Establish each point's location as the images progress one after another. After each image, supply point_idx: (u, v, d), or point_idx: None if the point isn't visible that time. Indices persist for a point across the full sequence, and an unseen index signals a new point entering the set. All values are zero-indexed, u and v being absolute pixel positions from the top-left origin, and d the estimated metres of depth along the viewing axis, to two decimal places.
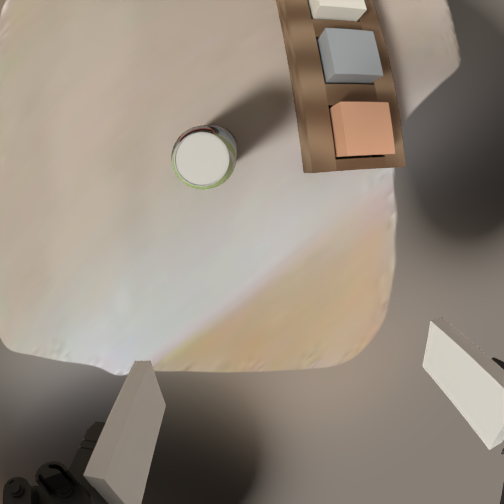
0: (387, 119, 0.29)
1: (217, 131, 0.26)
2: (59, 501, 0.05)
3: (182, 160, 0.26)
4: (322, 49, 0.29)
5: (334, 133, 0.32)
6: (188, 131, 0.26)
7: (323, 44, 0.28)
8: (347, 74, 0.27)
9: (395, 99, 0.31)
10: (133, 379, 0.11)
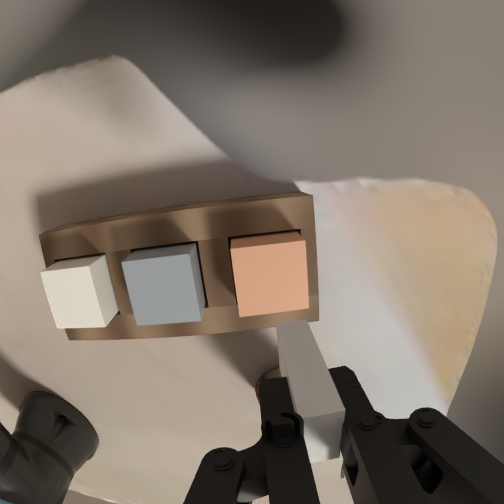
0: (256, 251, 0.24)
1: None
2: (274, 450, 0.07)
3: None
4: None
5: None
6: None
7: None
8: (198, 304, 0.25)
9: (214, 208, 0.26)
10: (287, 337, 0.13)
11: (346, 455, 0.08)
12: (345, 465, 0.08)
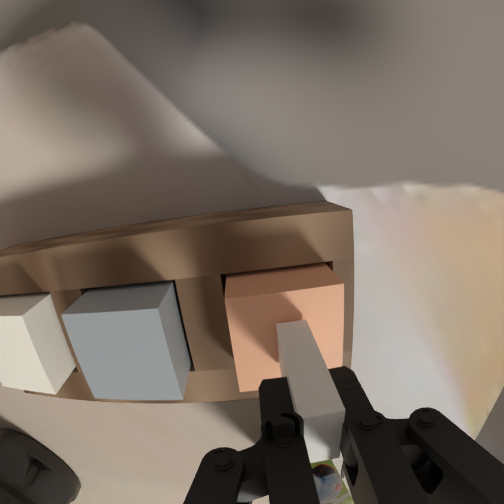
0: (266, 302, 0.15)
1: None
2: (274, 450, 0.07)
3: None
4: None
5: None
6: None
7: None
8: (177, 379, 0.15)
9: (198, 230, 0.16)
10: (286, 336, 0.13)
11: (346, 455, 0.08)
12: (345, 465, 0.08)
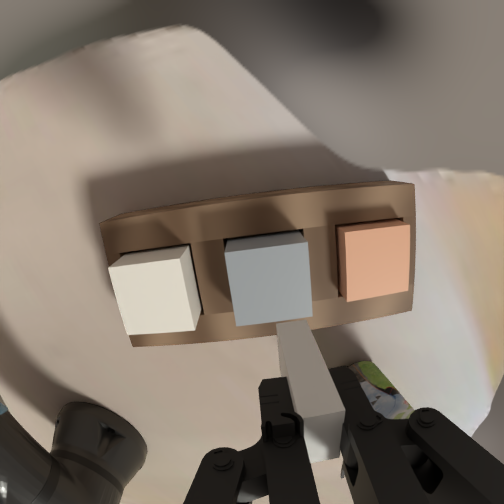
0: (368, 235, 0.23)
1: None
2: (274, 450, 0.07)
3: None
4: None
5: None
6: None
7: None
8: (311, 298, 0.23)
9: (322, 193, 0.24)
10: (286, 336, 0.13)
11: (346, 455, 0.08)
12: (345, 465, 0.08)
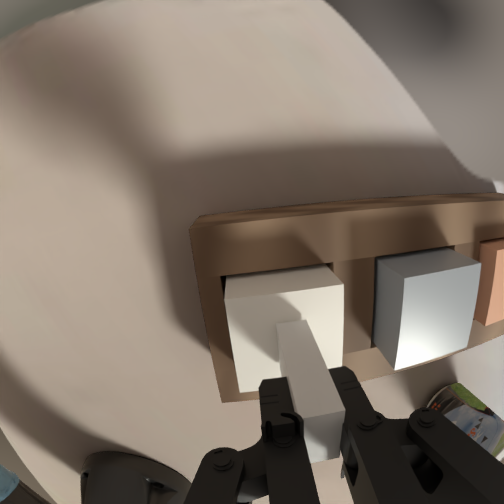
0: None
1: None
2: (274, 450, 0.07)
3: None
4: None
5: None
6: None
7: None
8: (469, 327, 0.15)
9: (473, 204, 0.17)
10: (286, 337, 0.13)
11: (346, 455, 0.08)
12: (345, 465, 0.08)
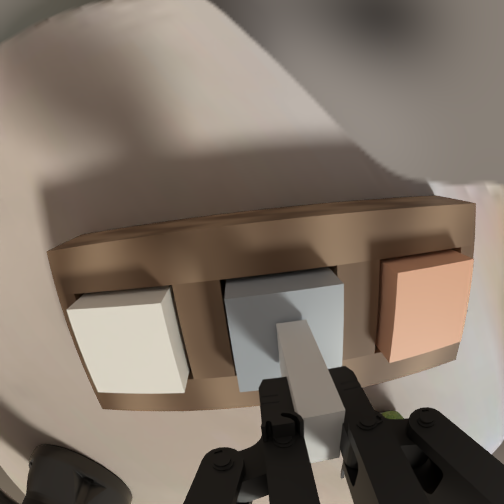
0: (426, 275, 0.15)
1: None
2: (274, 450, 0.07)
3: None
4: None
5: None
6: None
7: None
8: (341, 356, 0.16)
9: (365, 214, 0.16)
10: (287, 337, 0.13)
11: (346, 455, 0.08)
12: (345, 465, 0.08)
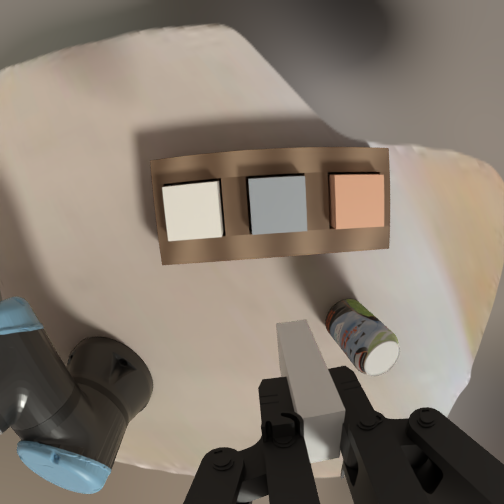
0: (352, 179, 0.31)
1: (365, 348, 0.31)
2: (274, 450, 0.07)
3: (379, 370, 0.32)
4: None
5: None
6: (358, 366, 0.32)
7: None
8: (306, 217, 0.32)
9: (319, 148, 0.32)
10: (286, 336, 0.13)
11: (346, 455, 0.08)
12: (345, 465, 0.08)
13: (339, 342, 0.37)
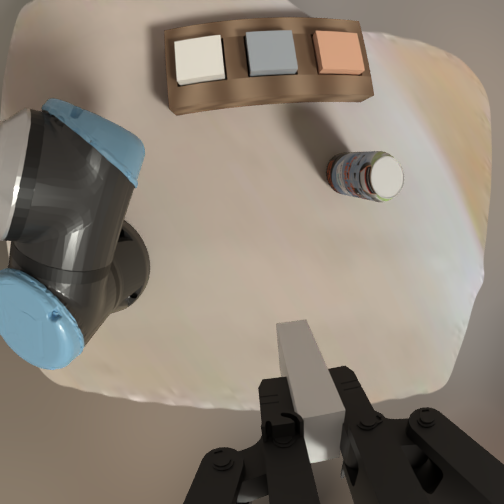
0: (330, 34, 0.31)
1: (367, 163, 0.32)
2: (274, 450, 0.07)
3: (387, 191, 0.32)
4: None
5: None
6: (365, 186, 0.32)
7: (261, 74, 0.34)
8: (296, 59, 0.32)
9: (301, 18, 0.32)
10: (286, 336, 0.13)
11: (346, 455, 0.08)
12: (345, 465, 0.08)
13: (342, 179, 0.37)
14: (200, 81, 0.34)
